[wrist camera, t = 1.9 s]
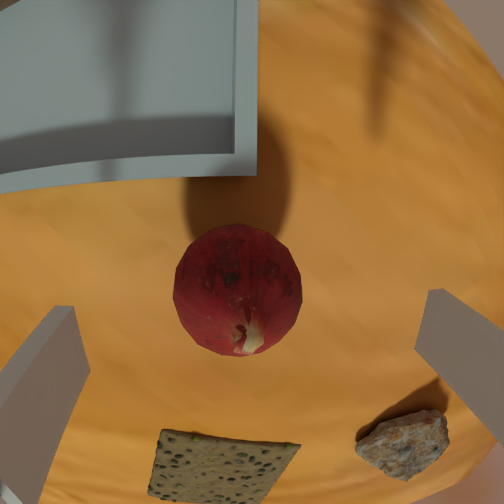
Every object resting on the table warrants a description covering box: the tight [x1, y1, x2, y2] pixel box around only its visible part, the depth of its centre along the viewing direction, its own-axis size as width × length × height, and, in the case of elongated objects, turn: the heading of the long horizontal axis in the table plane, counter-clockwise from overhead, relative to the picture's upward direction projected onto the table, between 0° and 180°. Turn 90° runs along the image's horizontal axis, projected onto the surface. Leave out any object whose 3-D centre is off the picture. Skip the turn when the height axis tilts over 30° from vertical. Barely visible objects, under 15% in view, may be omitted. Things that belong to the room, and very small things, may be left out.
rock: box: [355, 409, 450, 481], centre depth 24 cm, size 9×6×10 cm
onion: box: [173, 224, 302, 357], centre depth 14 cm, size 6×6×8 cm
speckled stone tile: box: [148, 429, 301, 504], centre depth 24 cm, size 12×12×1 cm
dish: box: [0, 0, 258, 194], centre depth 12 cm, size 18×18×2 cm
